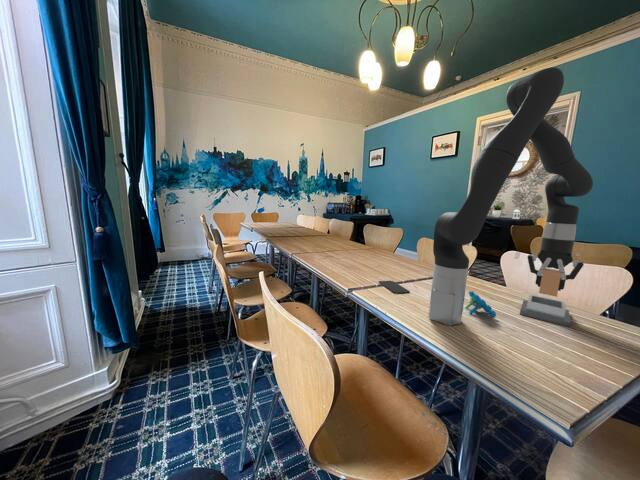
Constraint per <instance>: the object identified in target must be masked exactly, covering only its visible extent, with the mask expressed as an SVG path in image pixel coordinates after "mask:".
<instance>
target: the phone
mask: <svg viewBox="0 0 640 480" xmlns="http://www.w3.org/2000/svg"><path fill="white" fill-rule="evenodd" d="M378 282H379V283H378ZM378 282H377V283H378V284H380V285H381V284H382V285H383V286H382V285H381V286H382V287H384V288H385V289H387V290H388V291H390V292H391V293H393V294H396V295H402V294H403V295H404V294H410V293H411V291H410V290H409V289H407V288H405V287H404V286H402V285H401V284H399V283H397V282H395V281H393V280H379V281H378Z"/></svg>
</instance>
